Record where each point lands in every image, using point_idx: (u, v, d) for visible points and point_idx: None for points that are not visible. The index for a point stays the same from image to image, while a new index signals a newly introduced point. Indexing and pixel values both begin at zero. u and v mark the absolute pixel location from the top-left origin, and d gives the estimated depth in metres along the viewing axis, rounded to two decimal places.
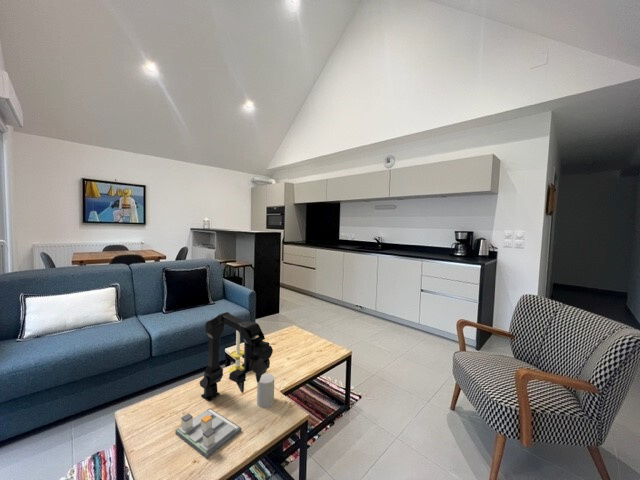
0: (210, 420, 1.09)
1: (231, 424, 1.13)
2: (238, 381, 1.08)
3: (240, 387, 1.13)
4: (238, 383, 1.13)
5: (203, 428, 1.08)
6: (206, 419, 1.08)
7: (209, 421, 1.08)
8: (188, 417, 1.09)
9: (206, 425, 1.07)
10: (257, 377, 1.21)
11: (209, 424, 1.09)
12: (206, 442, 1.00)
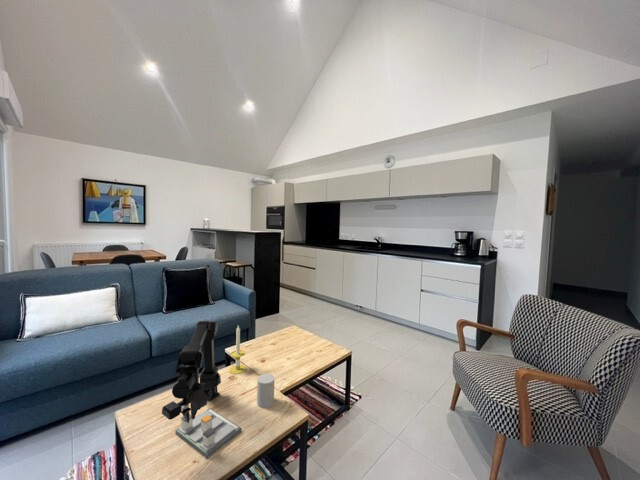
0: (210, 420, 1.09)
1: (231, 424, 1.13)
2: (170, 417, 0.93)
3: (185, 417, 1.01)
4: None
5: (203, 428, 1.08)
6: (206, 419, 1.08)
7: (209, 421, 1.08)
8: None
9: (206, 425, 1.07)
10: (192, 413, 1.04)
11: (209, 424, 1.09)
12: (206, 442, 1.00)
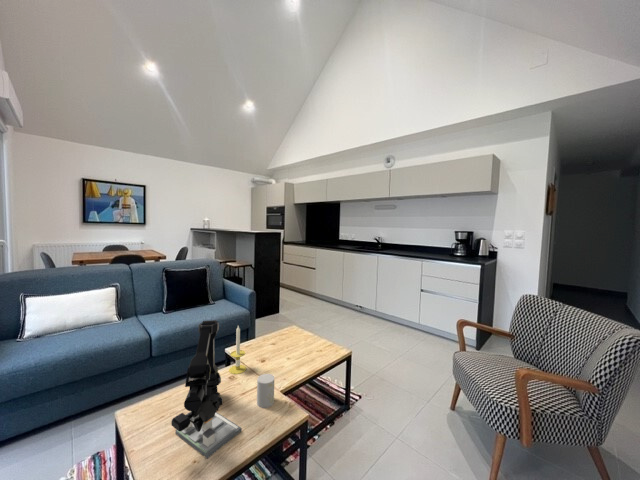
0: (210, 420, 1.09)
1: (231, 424, 1.13)
2: (180, 429, 0.97)
3: (195, 426, 1.05)
4: None
5: (203, 427, 1.08)
6: None
7: (209, 421, 1.08)
8: None
9: (206, 425, 1.07)
10: None
11: (209, 424, 1.09)
12: (206, 442, 1.00)
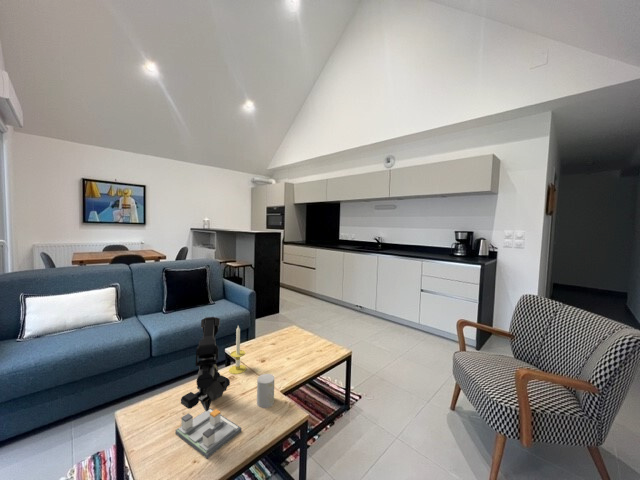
0: (218, 414, 1.12)
1: (231, 424, 1.13)
2: (189, 406, 0.99)
3: (204, 405, 1.08)
4: (202, 401, 1.08)
5: (211, 421, 1.11)
6: (215, 413, 1.12)
7: (218, 415, 1.12)
8: (188, 417, 1.09)
9: (215, 419, 1.11)
10: None
11: (218, 418, 1.12)
12: (206, 442, 1.00)
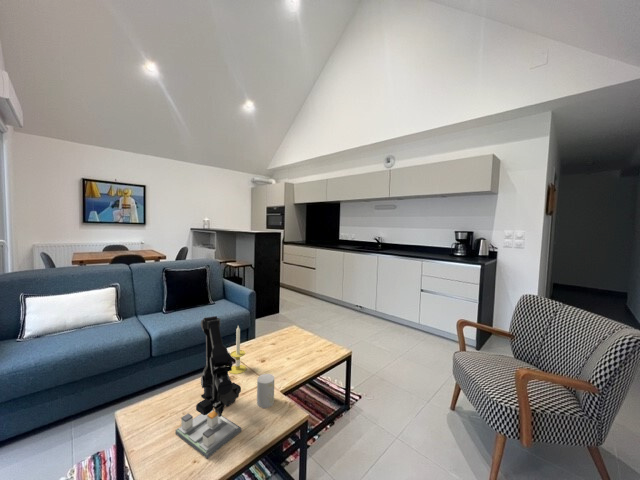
0: (216, 416, 1.11)
1: (231, 424, 1.13)
2: (204, 413, 1.05)
3: (217, 411, 1.13)
4: (215, 407, 1.13)
5: (209, 423, 1.10)
6: (212, 415, 1.11)
7: (215, 417, 1.11)
8: (188, 417, 1.09)
9: (212, 421, 1.10)
10: None
11: (215, 420, 1.11)
12: (206, 442, 1.00)
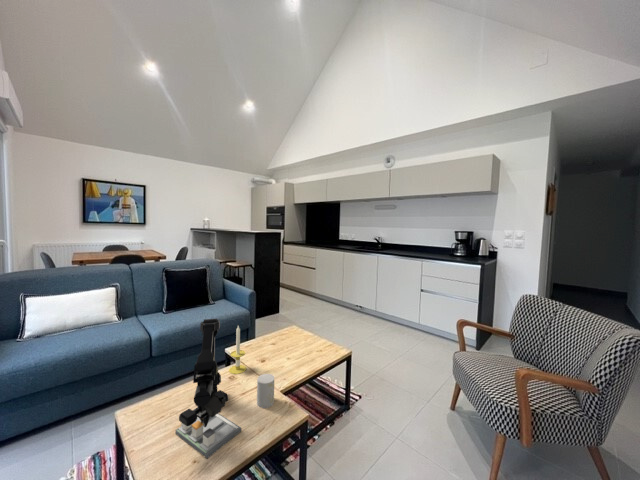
0: (201, 426, 1.05)
1: (231, 424, 1.13)
2: (187, 424, 0.99)
3: (202, 421, 1.07)
4: None
5: (193, 434, 1.05)
6: (197, 425, 1.05)
7: (200, 427, 1.05)
8: None
9: (197, 431, 1.04)
10: None
11: (200, 430, 1.05)
12: (206, 442, 1.00)
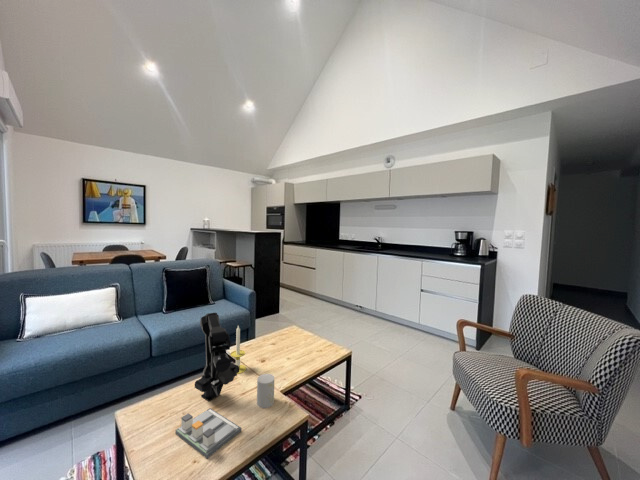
0: (201, 426, 1.05)
1: (231, 424, 1.13)
2: (202, 390, 1.06)
3: (215, 390, 1.14)
4: (213, 386, 1.15)
5: (193, 434, 1.05)
6: (197, 425, 1.05)
7: (200, 427, 1.05)
8: (188, 417, 1.09)
9: (197, 431, 1.04)
10: None
11: (200, 430, 1.05)
12: (206, 442, 1.00)
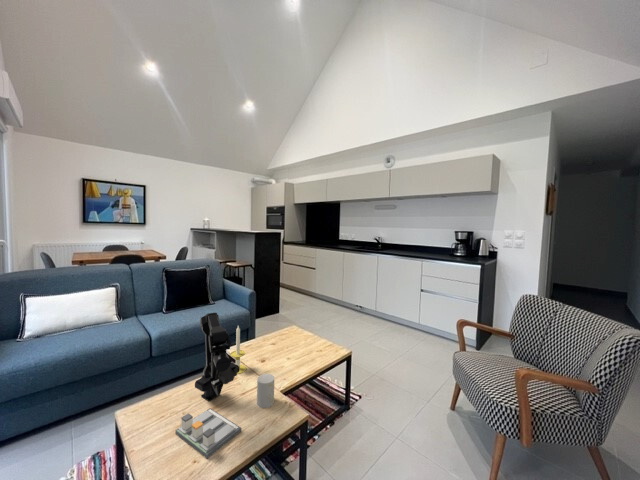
0: (201, 426, 1.05)
1: (231, 424, 1.13)
2: (203, 389, 1.06)
3: (215, 390, 1.14)
4: (213, 386, 1.15)
5: (193, 434, 1.05)
6: (197, 425, 1.05)
7: (200, 427, 1.05)
8: (188, 417, 1.09)
9: (197, 431, 1.04)
10: None
11: (200, 430, 1.05)
12: (206, 442, 1.00)
